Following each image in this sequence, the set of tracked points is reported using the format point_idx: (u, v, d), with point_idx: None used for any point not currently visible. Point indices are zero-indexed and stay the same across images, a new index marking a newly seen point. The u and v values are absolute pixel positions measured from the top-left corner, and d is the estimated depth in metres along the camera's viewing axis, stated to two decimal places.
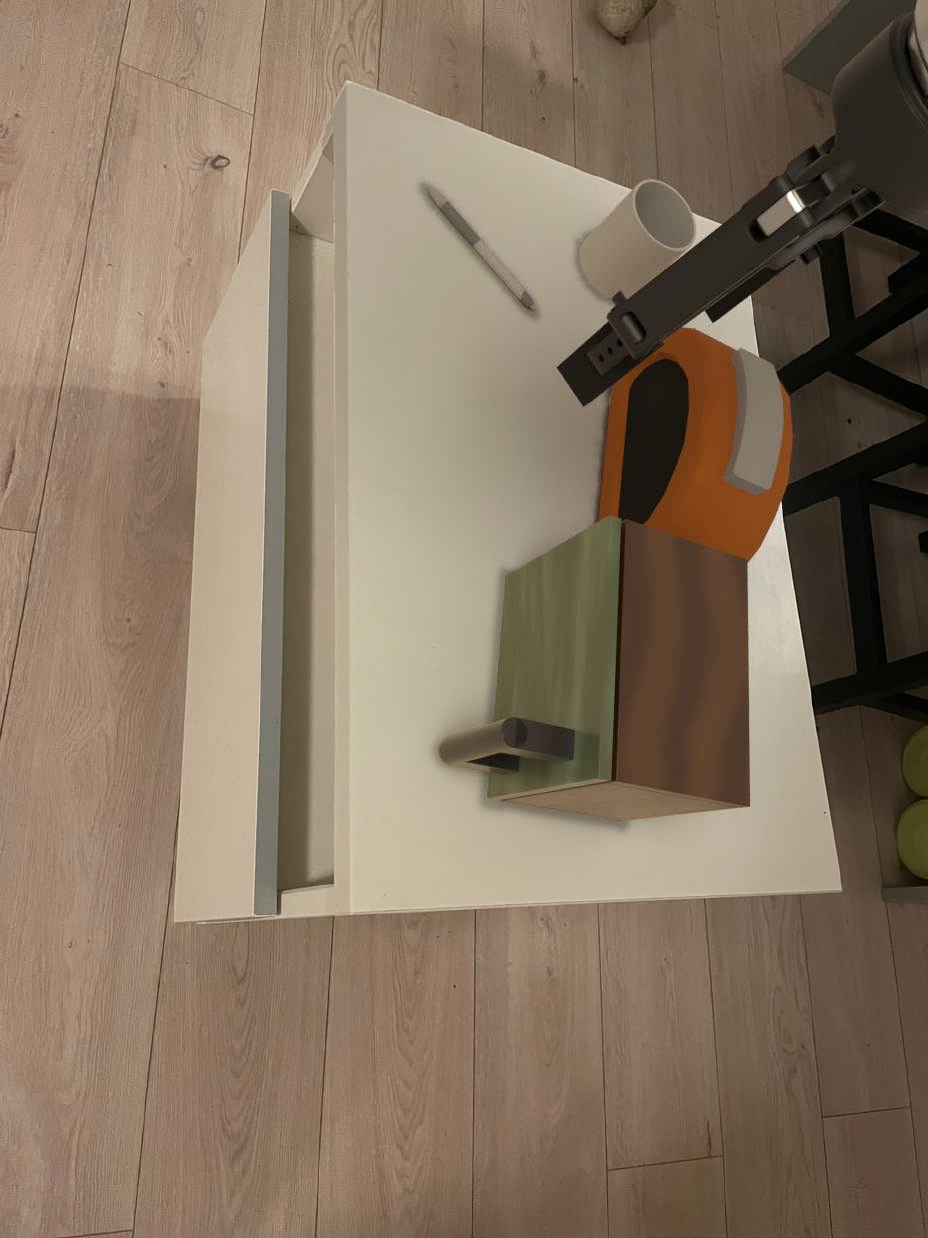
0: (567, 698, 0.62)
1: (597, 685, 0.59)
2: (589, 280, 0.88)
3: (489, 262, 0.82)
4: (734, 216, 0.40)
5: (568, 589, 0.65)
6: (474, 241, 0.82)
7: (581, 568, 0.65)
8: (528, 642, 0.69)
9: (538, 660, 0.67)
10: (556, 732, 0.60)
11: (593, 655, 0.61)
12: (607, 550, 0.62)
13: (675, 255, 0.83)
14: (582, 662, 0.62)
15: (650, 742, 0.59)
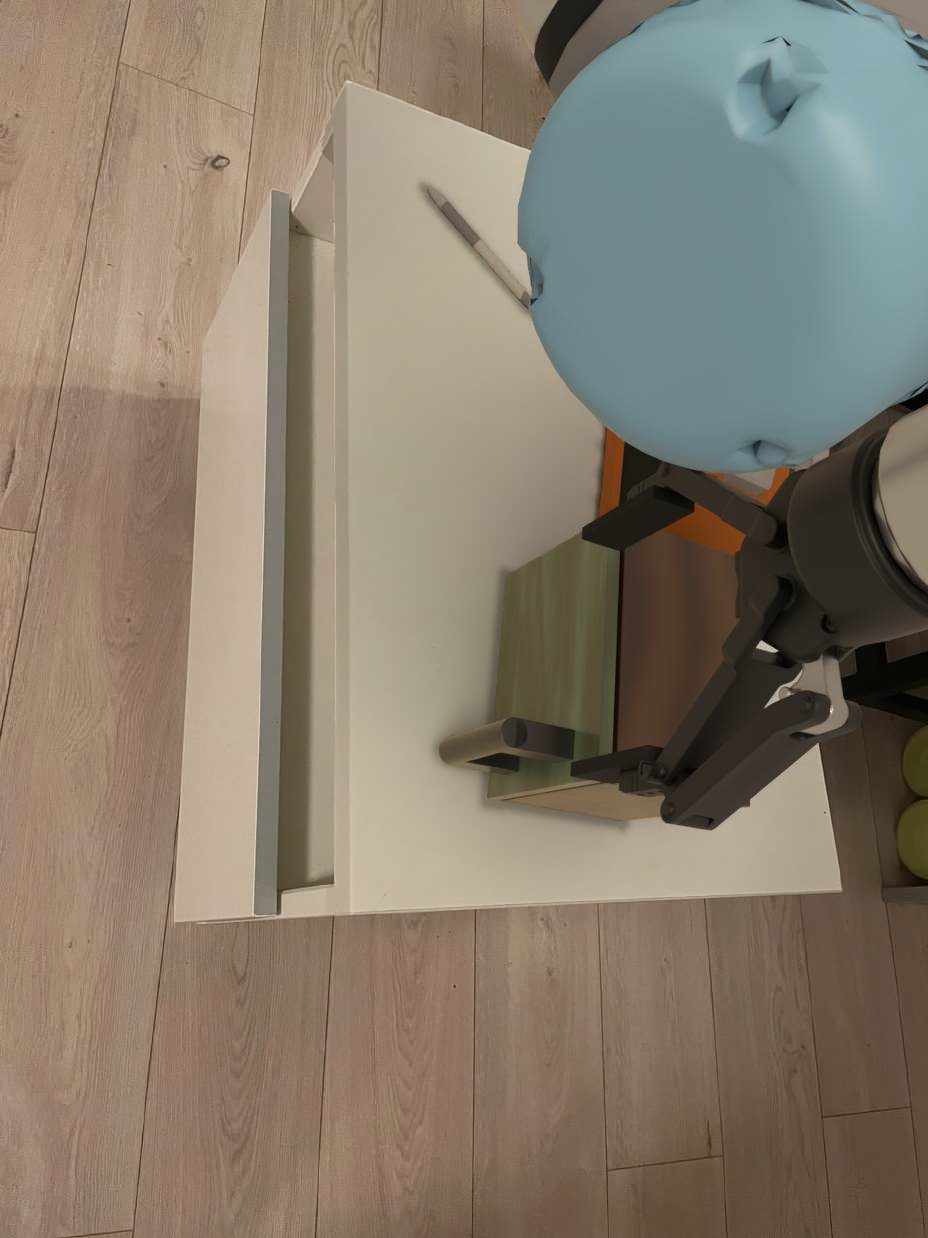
0: (567, 698, 0.62)
1: (597, 685, 0.59)
2: None
3: (489, 262, 0.82)
4: (771, 736, 0.37)
5: (568, 589, 0.65)
6: (474, 241, 0.82)
7: (581, 568, 0.65)
8: (528, 642, 0.69)
9: (538, 660, 0.67)
10: (556, 732, 0.60)
11: (593, 655, 0.61)
12: (607, 550, 0.62)
13: None
14: (582, 662, 0.62)
15: (650, 742, 0.59)
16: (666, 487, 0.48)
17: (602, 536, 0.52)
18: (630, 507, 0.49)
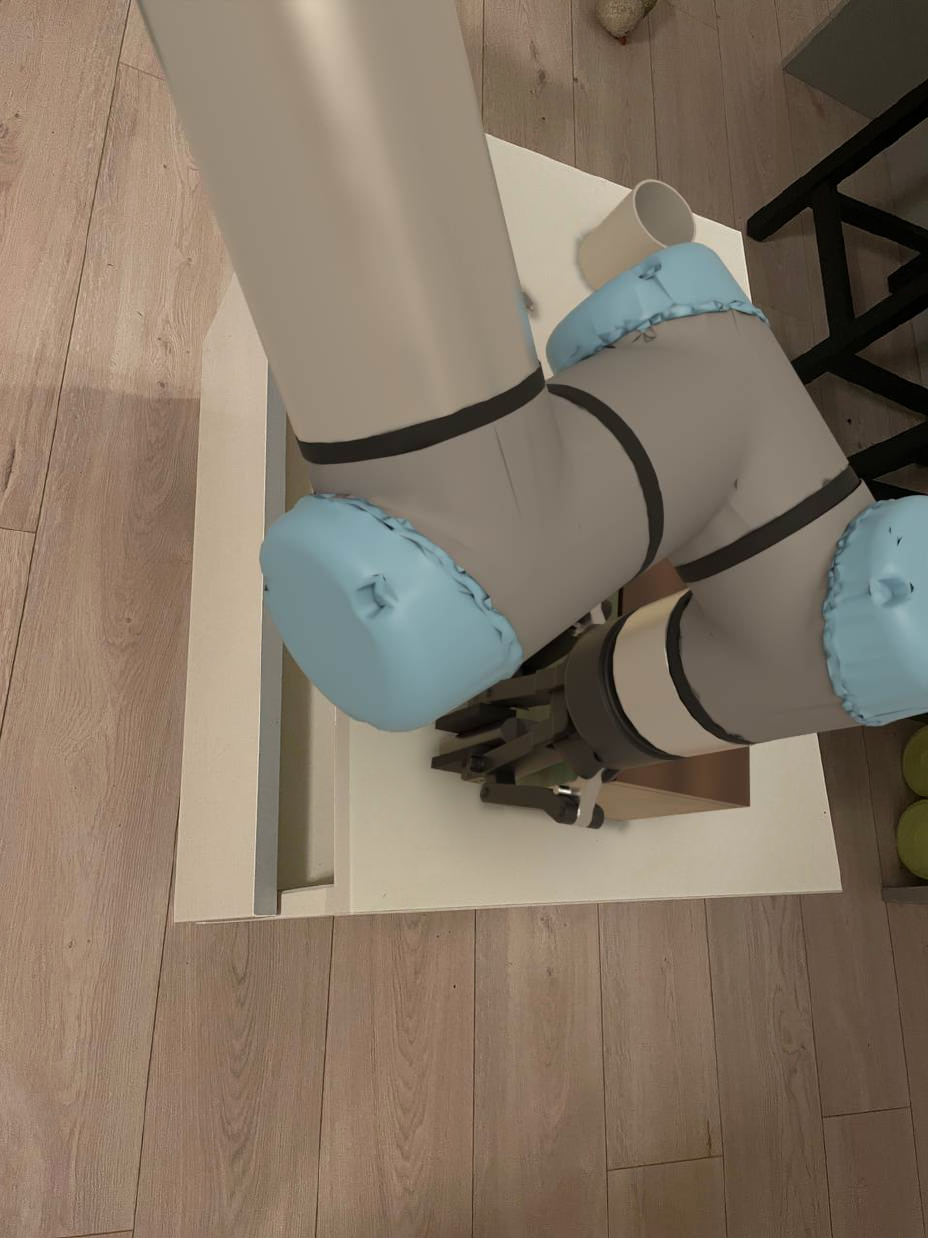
0: None
1: None
2: (589, 280, 0.88)
3: None
4: (540, 809, 0.50)
5: None
6: None
7: None
8: None
9: None
10: None
11: None
12: None
13: None
14: None
15: None
16: (490, 704, 0.59)
17: (450, 728, 0.64)
18: (465, 715, 0.60)
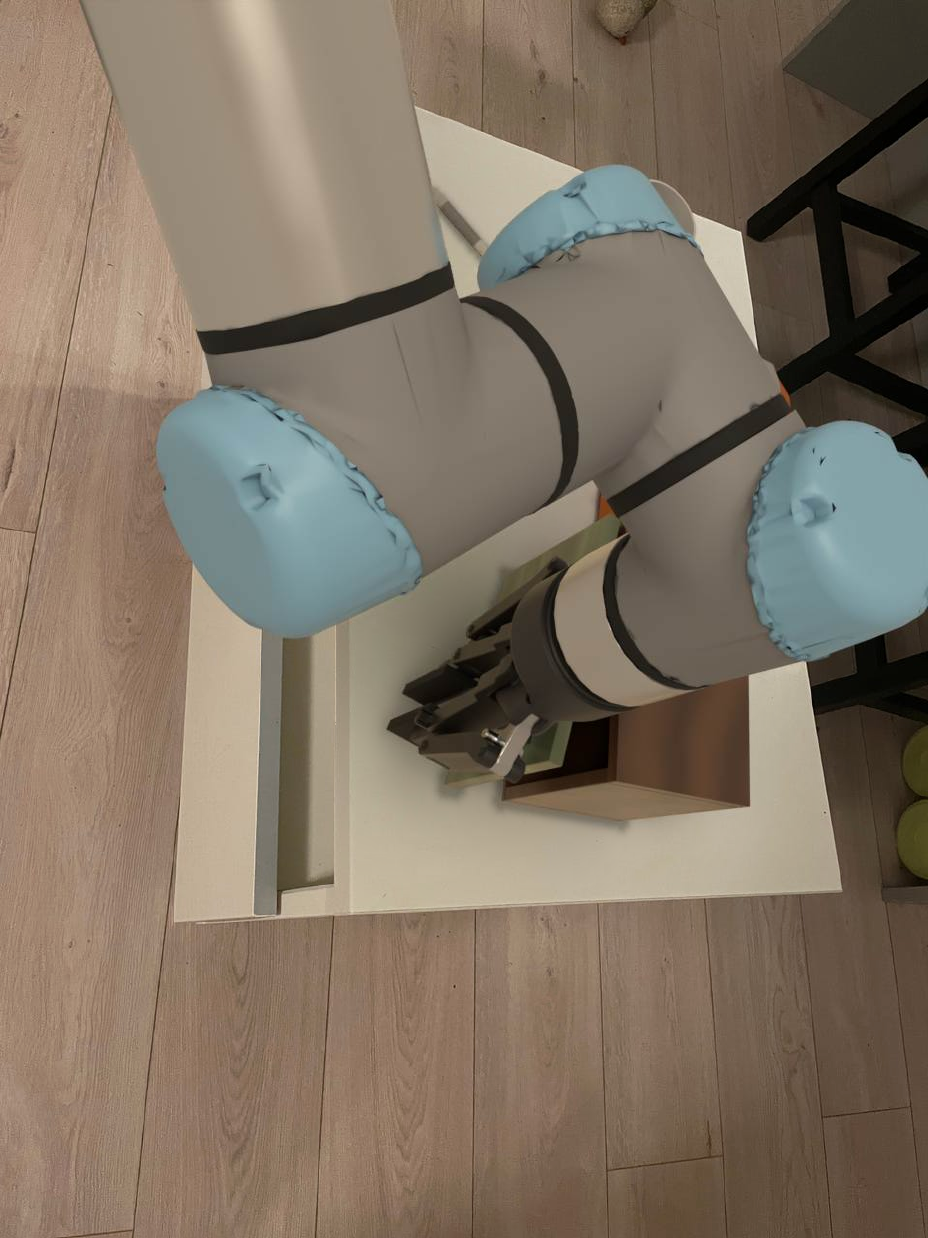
0: None
1: None
2: None
3: None
4: (465, 753, 0.49)
5: None
6: (474, 241, 0.82)
7: None
8: None
9: None
10: None
11: None
12: (601, 546, 0.62)
13: None
14: None
15: (650, 742, 0.59)
16: (456, 669, 0.59)
17: (416, 695, 0.63)
18: (431, 677, 0.60)
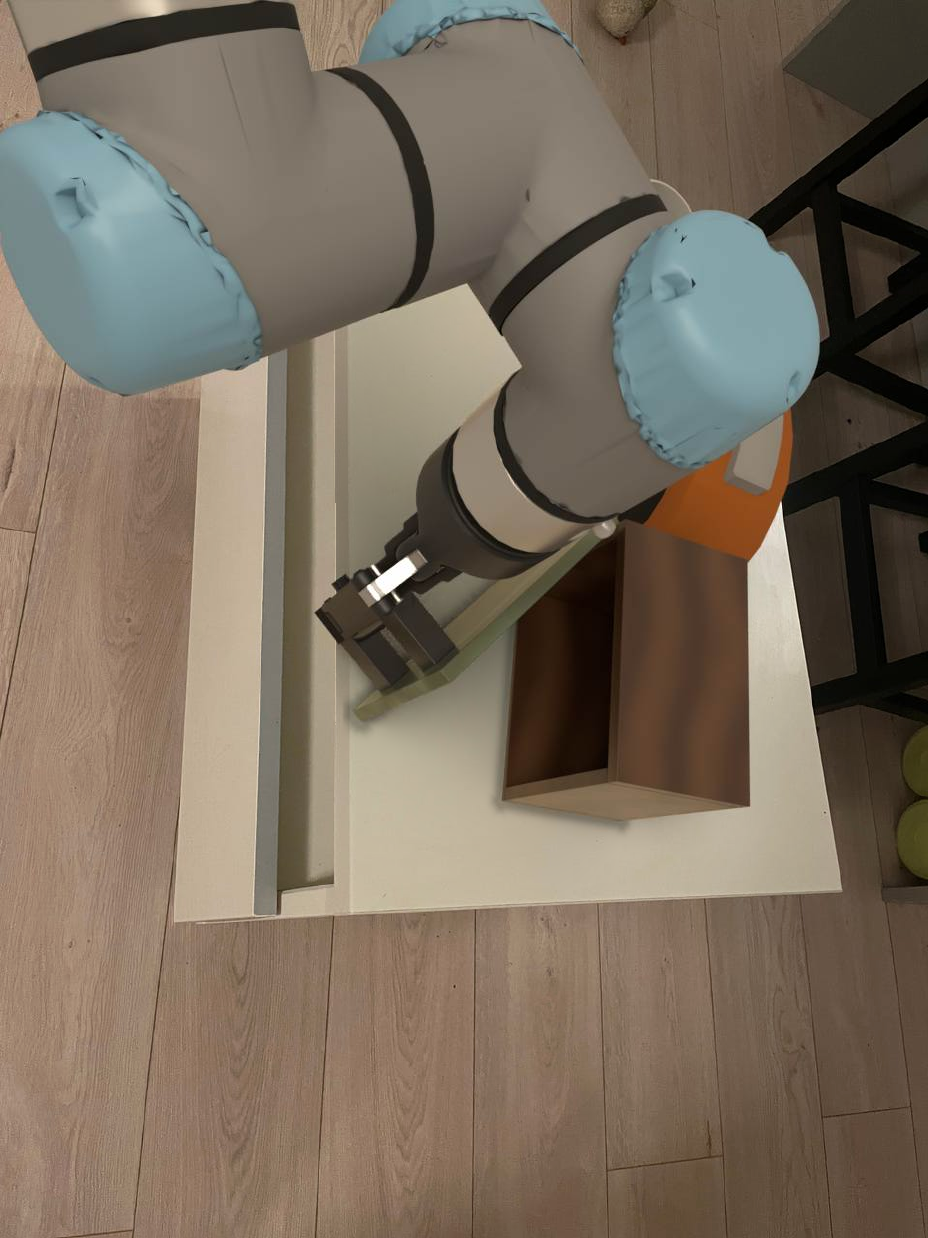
0: (471, 628, 0.60)
1: (499, 612, 0.57)
2: None
3: None
4: (349, 583, 0.48)
5: (539, 563, 0.65)
6: None
7: None
8: (480, 605, 0.68)
9: (476, 613, 0.65)
10: (437, 632, 0.58)
11: (515, 596, 0.59)
12: None
13: None
14: (503, 603, 0.60)
15: (650, 742, 0.59)
16: None
17: None
18: None
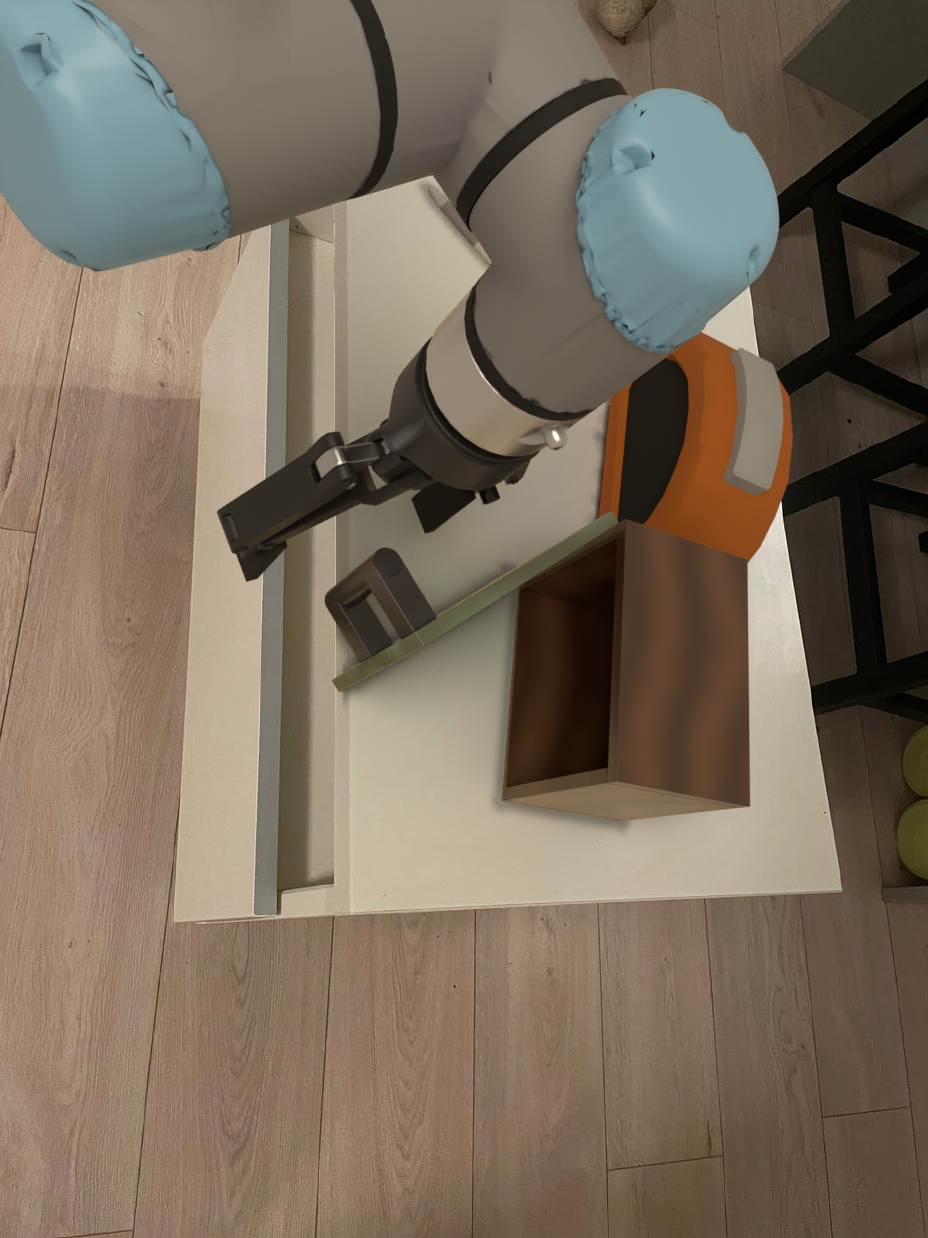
0: None
1: None
2: None
3: (489, 262, 0.82)
4: (301, 456, 0.46)
5: None
6: (475, 240, 0.82)
7: (557, 542, 0.64)
8: None
9: None
10: (420, 600, 0.58)
11: (503, 577, 0.59)
12: (586, 526, 0.62)
13: None
14: None
15: (650, 742, 0.59)
16: None
17: (420, 502, 0.64)
18: None
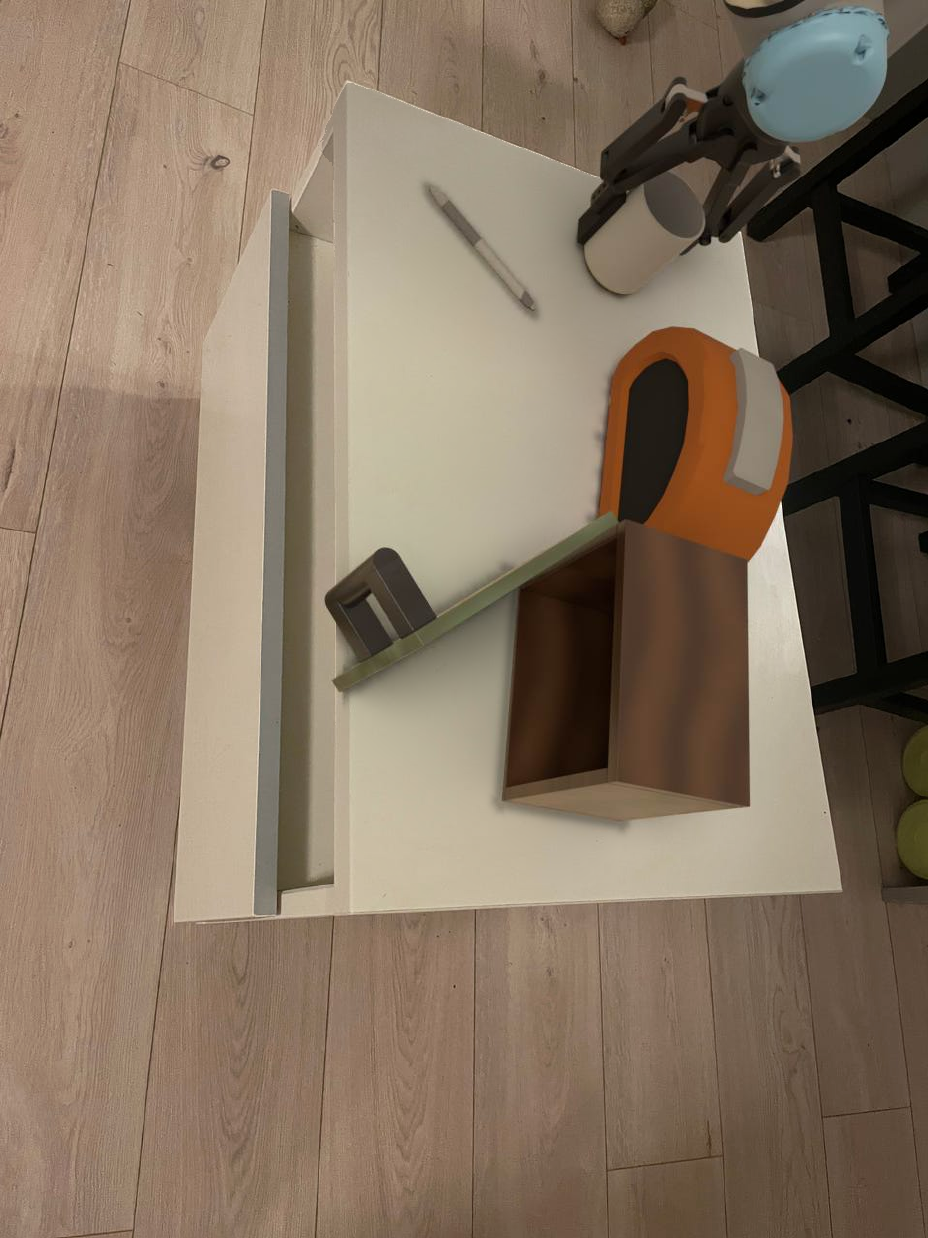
0: None
1: None
2: (596, 270, 0.86)
3: (490, 262, 0.82)
4: None
5: None
6: (475, 240, 0.82)
7: (557, 542, 0.64)
8: None
9: None
10: (420, 600, 0.58)
11: (503, 577, 0.59)
12: (586, 526, 0.62)
13: (684, 245, 0.82)
14: None
15: (650, 742, 0.59)
16: None
17: None
18: None
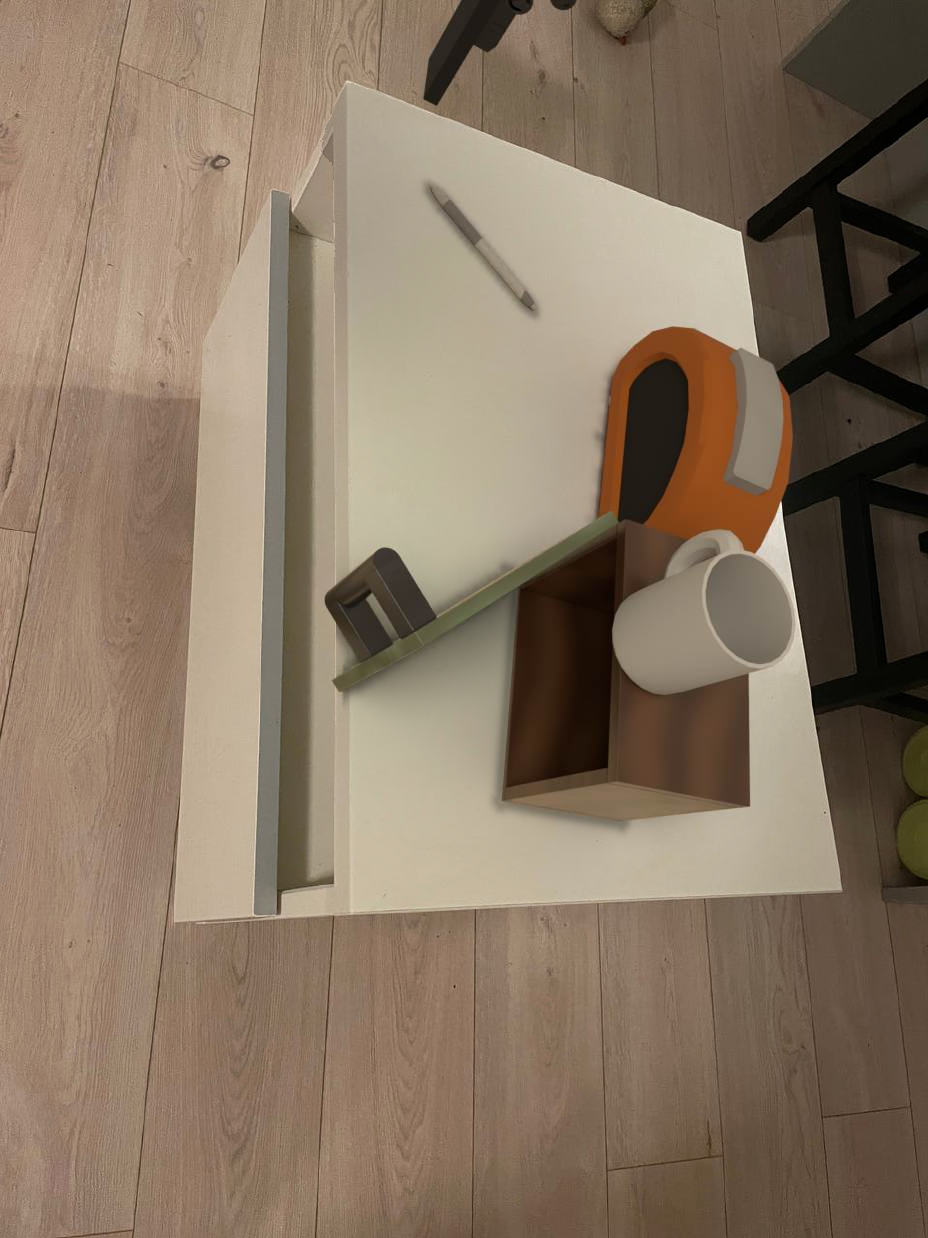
0: None
1: None
2: (629, 672, 0.59)
3: (490, 261, 0.82)
4: None
5: None
6: (476, 240, 0.82)
7: (557, 542, 0.64)
8: None
9: None
10: (420, 600, 0.58)
11: (503, 577, 0.59)
12: (586, 526, 0.62)
13: None
14: None
15: (650, 742, 0.59)
16: None
17: (436, 52, 0.45)
18: None
